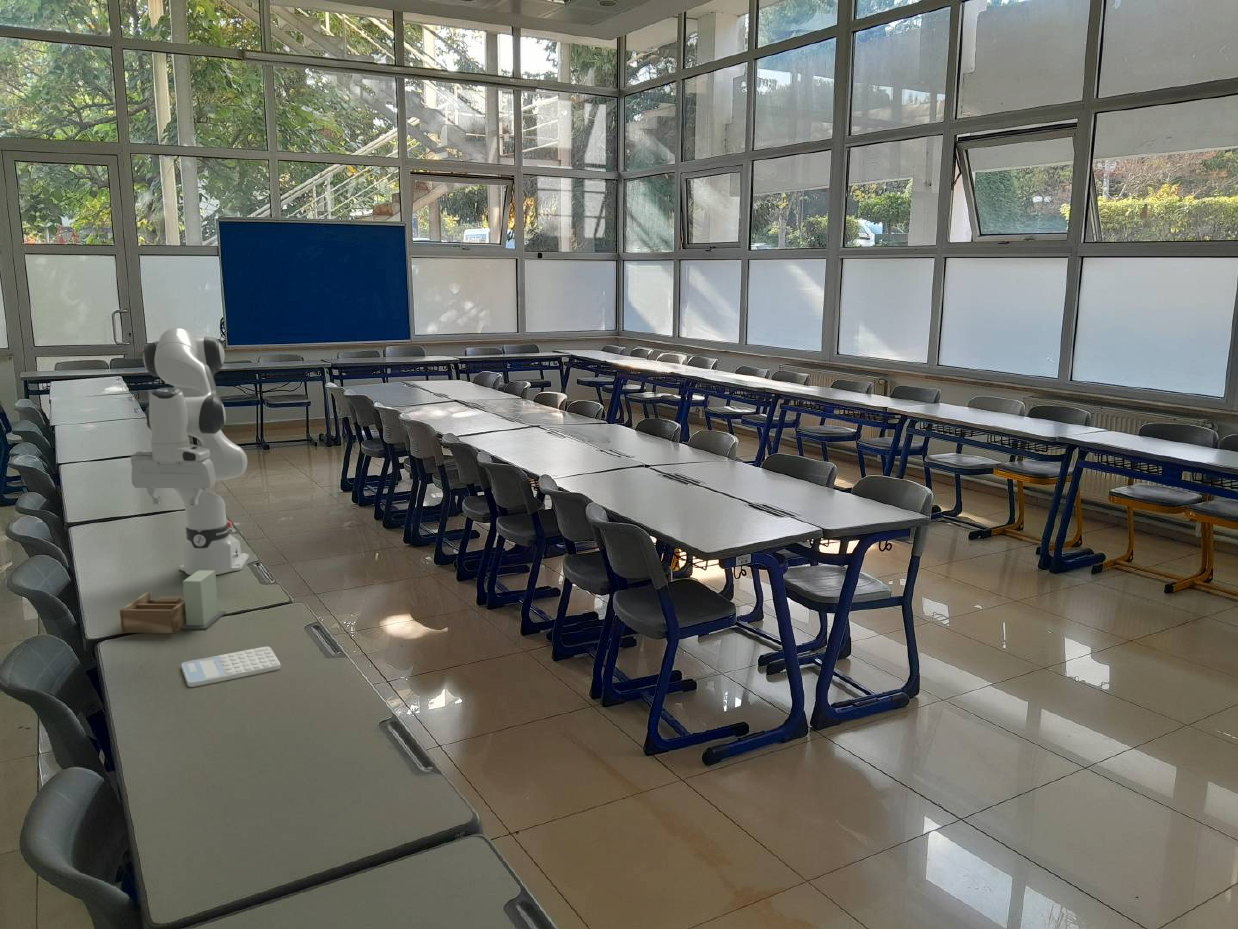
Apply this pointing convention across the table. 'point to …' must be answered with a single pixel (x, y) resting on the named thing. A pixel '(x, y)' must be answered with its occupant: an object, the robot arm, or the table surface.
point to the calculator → (229, 666)
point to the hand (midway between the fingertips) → (175, 504)
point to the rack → (152, 616)
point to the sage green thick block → (200, 597)
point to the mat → (207, 625)
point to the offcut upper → (168, 600)
